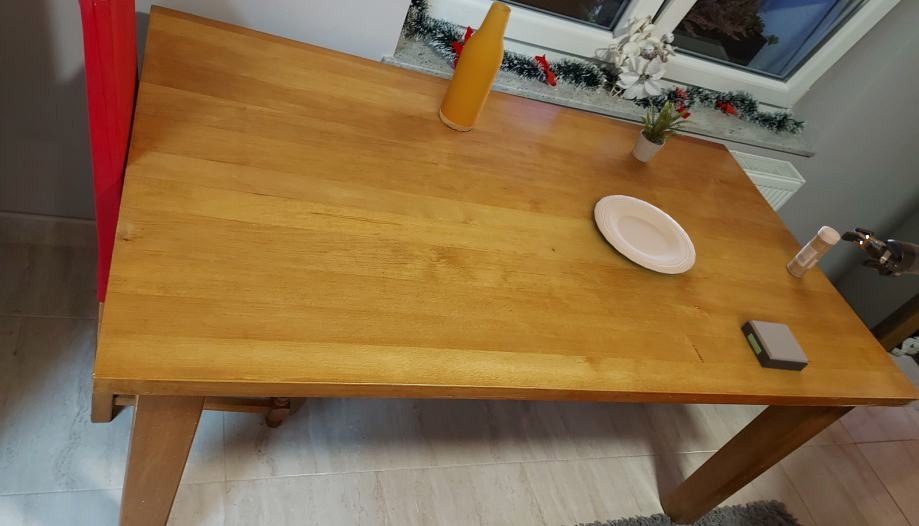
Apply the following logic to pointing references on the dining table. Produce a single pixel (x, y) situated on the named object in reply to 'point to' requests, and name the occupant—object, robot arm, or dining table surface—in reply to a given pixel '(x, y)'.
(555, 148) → the dining table surface
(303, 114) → the dining table surface
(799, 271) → the sprinkles bottle
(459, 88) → the beer bottle
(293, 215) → the dining table surface
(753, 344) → the scale
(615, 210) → the plate
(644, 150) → the house plant
